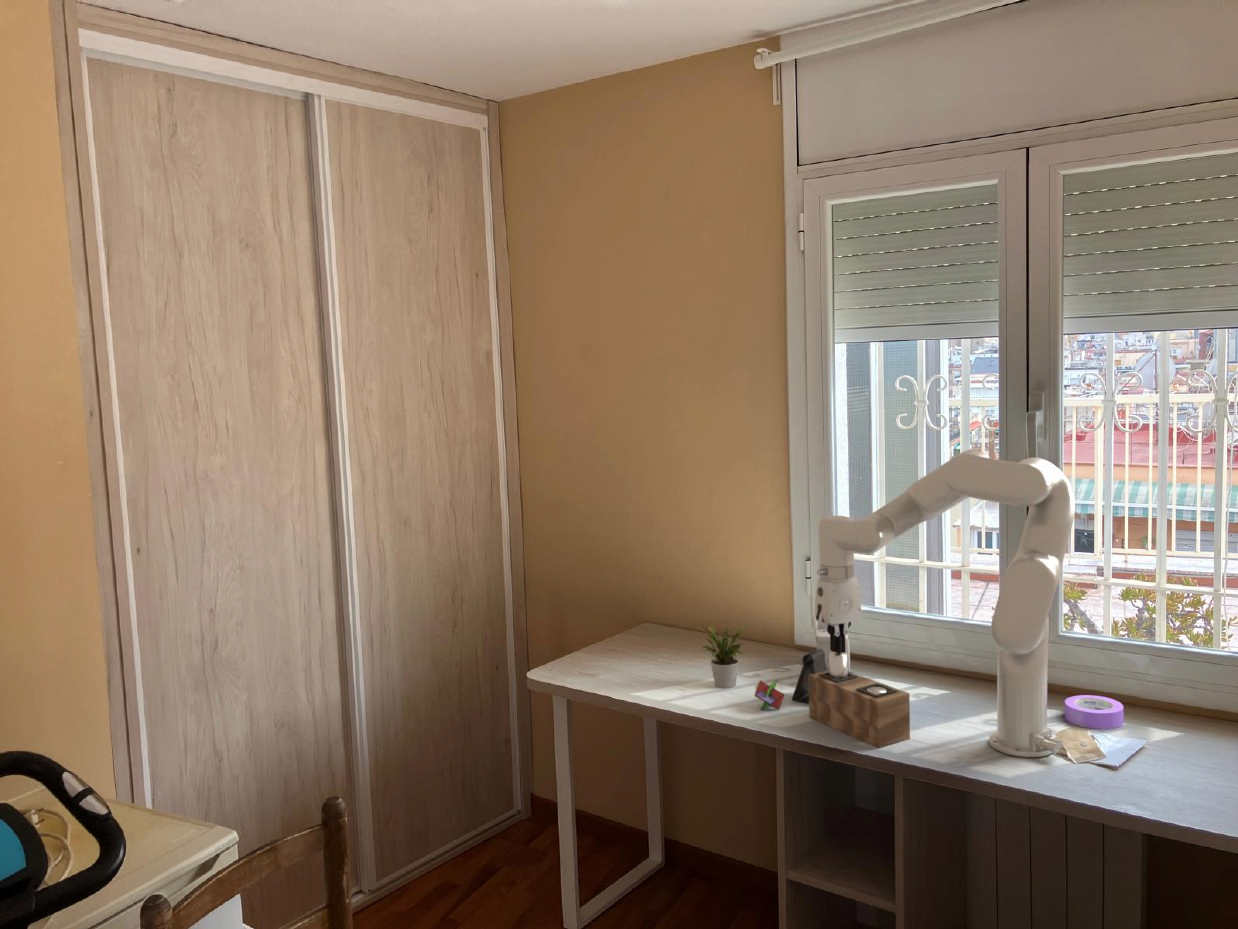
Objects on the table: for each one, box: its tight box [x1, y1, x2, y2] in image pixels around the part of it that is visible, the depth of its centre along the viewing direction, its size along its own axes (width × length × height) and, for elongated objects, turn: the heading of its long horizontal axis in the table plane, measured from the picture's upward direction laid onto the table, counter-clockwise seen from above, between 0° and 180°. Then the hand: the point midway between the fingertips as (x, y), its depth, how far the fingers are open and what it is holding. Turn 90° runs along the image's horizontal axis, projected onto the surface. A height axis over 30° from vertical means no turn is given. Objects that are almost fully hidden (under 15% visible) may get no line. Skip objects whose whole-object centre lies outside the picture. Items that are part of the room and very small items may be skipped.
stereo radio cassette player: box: [812, 615, 851, 672], centre depth 254 cm, size 21×8×20 cm, turn 171°
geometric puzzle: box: [754, 680, 786, 711], centre depth 232 cm, size 7×7×8 cm
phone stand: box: [791, 647, 828, 705], centre depth 236 cm, size 9×6×12 cm, turn 52°
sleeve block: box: [808, 670, 911, 749], centre depth 218 cm, size 22×9×10 cm, turn 30°
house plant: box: [694, 621, 747, 689], centre depth 249 cm, size 14×14×16 cm
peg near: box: [867, 687, 887, 695], centre depth 213 cm, size 4×4×9 cm
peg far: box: [829, 651, 848, 680], centre depth 223 cm, size 4×4×9 cm
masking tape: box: [1064, 694, 1124, 730], centre depth 218 cm, size 12×12×4 cm
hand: (837, 651), depth 222 cm, fingers closed
